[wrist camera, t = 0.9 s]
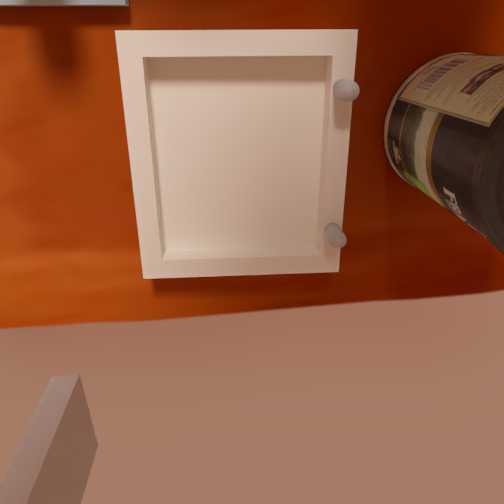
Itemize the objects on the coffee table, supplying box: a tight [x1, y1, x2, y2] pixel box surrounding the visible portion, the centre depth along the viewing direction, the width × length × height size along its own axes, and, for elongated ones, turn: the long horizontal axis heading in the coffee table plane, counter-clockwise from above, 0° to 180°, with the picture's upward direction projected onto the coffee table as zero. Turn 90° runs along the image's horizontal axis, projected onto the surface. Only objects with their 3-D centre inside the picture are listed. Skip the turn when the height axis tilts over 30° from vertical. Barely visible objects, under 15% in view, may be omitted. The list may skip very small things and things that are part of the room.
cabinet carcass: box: [115, 29, 360, 279], centre depth 32 cm, size 17×15×5 cm
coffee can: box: [384, 52, 504, 254], centre depth 28 cm, size 10×10×14 cm
